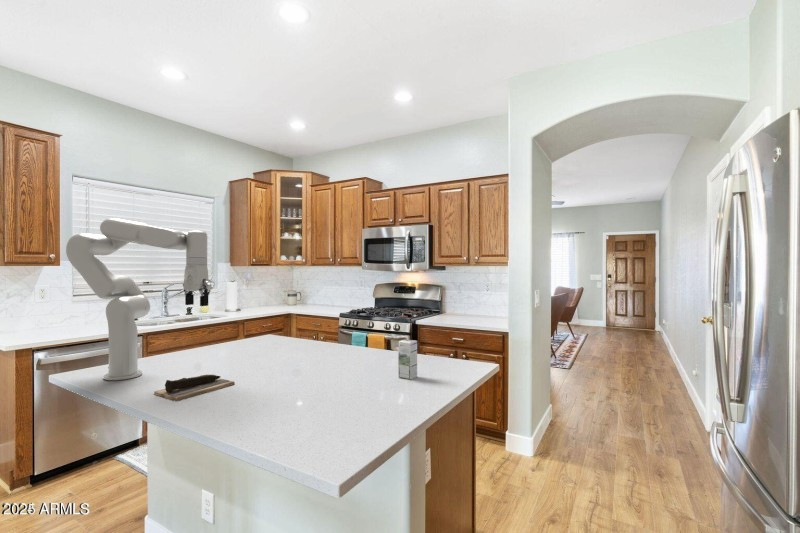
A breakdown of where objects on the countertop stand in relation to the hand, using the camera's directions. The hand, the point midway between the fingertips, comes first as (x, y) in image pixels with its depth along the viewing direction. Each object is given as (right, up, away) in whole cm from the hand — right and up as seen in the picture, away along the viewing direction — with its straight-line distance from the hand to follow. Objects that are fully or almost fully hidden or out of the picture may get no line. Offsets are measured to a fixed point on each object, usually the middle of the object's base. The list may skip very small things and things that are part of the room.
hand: (196, 305), depth 162 cm
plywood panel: (+8, -28, -17) cm, 34 cm away
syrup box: (+84, -29, 0) cm, 89 cm away
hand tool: (+9, -26, -17) cm, 32 cm away
